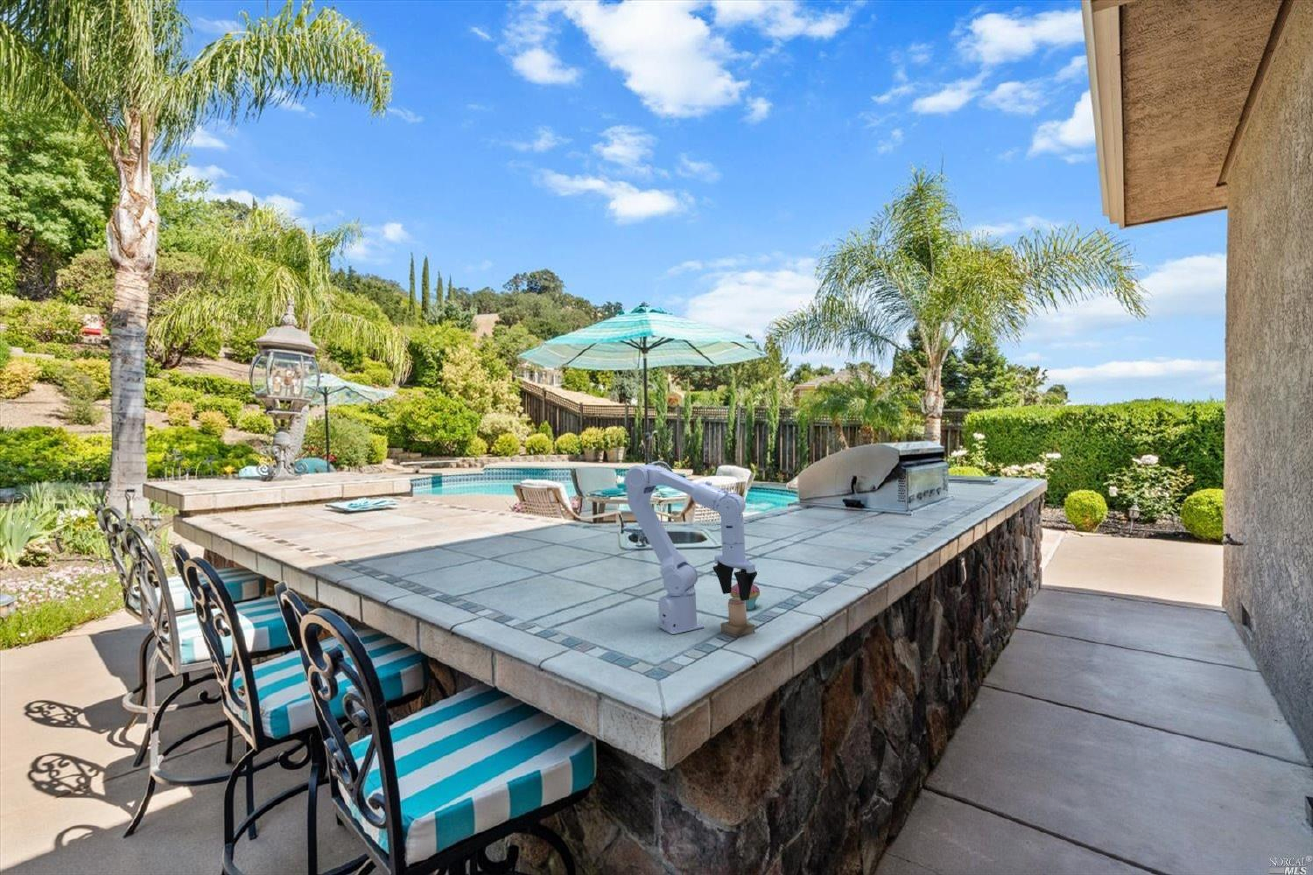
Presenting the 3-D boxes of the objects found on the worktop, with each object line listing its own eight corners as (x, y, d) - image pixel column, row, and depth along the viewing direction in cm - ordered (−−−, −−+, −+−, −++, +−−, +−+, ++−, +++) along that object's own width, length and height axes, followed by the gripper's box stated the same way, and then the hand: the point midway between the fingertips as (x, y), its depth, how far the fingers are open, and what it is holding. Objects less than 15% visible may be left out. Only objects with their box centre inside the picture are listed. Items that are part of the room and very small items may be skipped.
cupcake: (751, 613, 158) (749, 570, 158) (724, 609, 163) (722, 567, 163) (765, 605, 165) (763, 563, 165) (739, 601, 170) (737, 561, 170)
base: (735, 637, 140) (734, 629, 140) (721, 631, 145) (720, 623, 145) (754, 632, 143) (754, 624, 143) (740, 626, 148) (739, 618, 148)
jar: (735, 627, 141) (734, 603, 141) (725, 622, 145) (724, 599, 145) (750, 624, 143) (749, 600, 143) (740, 619, 147) (739, 596, 147)
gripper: (764, 544, 140) (766, 600, 140) (729, 536, 152) (731, 587, 152) (740, 547, 136) (743, 605, 136) (707, 539, 149) (709, 592, 149)
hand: (735, 596), depth 144 cm, fingers open, 7 cm apart
